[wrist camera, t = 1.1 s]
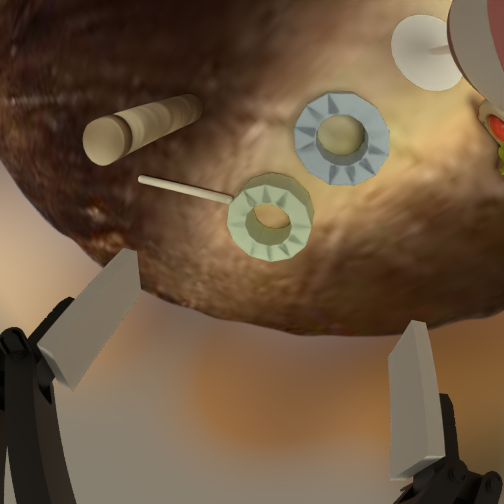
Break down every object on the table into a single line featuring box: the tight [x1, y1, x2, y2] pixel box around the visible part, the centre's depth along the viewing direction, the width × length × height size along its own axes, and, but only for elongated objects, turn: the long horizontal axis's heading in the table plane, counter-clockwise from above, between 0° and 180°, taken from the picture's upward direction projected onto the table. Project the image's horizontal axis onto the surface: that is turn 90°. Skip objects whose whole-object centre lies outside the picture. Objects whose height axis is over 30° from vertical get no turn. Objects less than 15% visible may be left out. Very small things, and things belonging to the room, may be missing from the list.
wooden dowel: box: [83, 94, 203, 165], centre depth 26 cm, size 4×4×16 cm
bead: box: [227, 172, 314, 262], centre depth 36 cm, size 9×9×4 cm
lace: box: [138, 175, 233, 204], centre depth 38 cm, size 1×13×1 cm, turn 80°
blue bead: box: [294, 91, 390, 186], centre depth 29 cm, size 9×9×4 cm
